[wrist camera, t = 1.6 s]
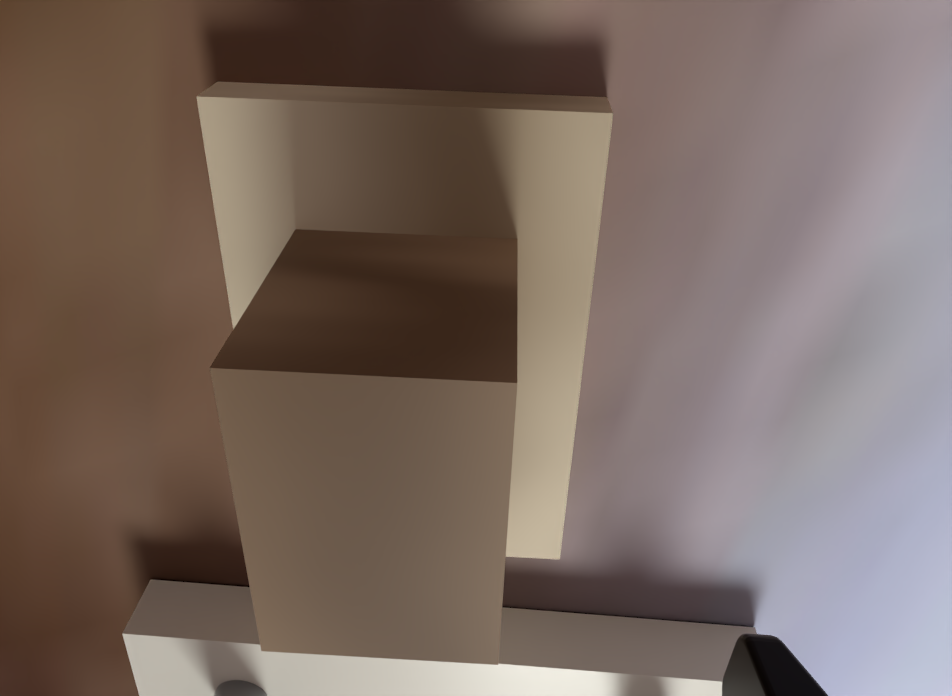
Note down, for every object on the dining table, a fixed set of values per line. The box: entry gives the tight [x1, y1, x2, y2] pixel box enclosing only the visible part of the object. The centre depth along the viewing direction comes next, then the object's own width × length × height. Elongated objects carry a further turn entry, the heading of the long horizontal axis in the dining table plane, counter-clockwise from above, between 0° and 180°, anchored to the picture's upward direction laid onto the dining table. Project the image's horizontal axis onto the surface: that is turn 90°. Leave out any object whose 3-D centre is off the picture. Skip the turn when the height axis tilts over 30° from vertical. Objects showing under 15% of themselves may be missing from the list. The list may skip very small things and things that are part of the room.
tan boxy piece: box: [196, 82, 613, 665], centre depth 12 cm, size 6×9×5 cm, turn 178°
